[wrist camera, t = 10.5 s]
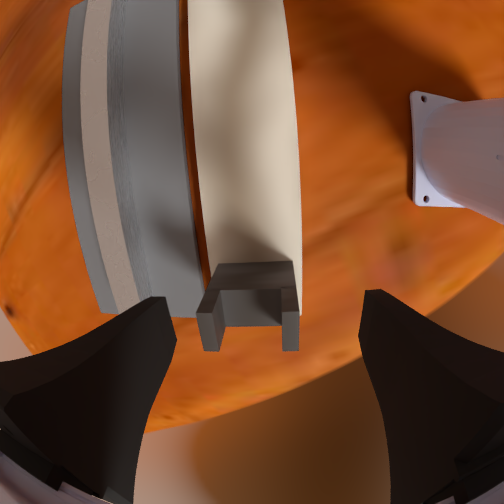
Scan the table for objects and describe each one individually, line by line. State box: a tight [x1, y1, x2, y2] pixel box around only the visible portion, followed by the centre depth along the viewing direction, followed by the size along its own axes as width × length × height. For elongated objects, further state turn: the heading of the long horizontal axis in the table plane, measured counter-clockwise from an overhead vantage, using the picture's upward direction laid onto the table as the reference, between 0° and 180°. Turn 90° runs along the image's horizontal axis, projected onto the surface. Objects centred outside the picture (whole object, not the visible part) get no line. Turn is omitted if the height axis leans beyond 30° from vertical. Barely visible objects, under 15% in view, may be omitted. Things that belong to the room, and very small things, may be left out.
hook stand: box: [188, 0, 302, 352], centre depth 12 cm, size 6×27×7 cm, turn 4°
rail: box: [80, 0, 154, 314], centre depth 15 cm, size 2×25×2 cm, turn 4°
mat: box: [62, 0, 205, 318], centre depth 16 cm, size 10×28×1 cm, turn 4°
